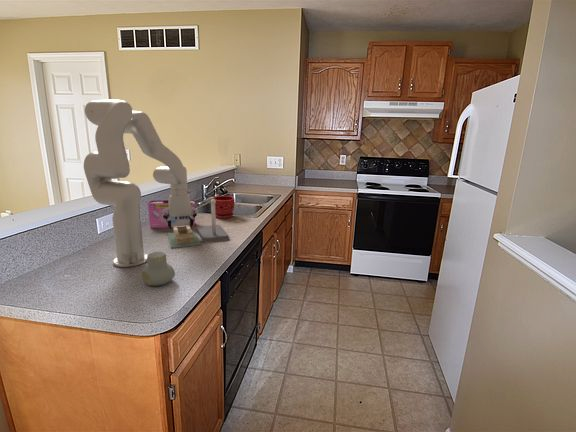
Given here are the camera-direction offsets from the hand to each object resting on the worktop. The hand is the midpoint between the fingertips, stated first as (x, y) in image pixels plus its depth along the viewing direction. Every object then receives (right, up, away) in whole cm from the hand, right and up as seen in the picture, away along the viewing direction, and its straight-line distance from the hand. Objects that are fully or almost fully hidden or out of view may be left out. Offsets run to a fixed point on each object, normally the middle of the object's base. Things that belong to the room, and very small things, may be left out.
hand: (180, 227), depth 152 cm
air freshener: (+8, -17, -45) cm, 48 cm away
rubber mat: (+2, -6, -2) cm, 6 cm away
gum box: (-11, 0, +21) cm, 23 cm away
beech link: (+2, -5, -2) cm, 5 cm away
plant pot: (+13, +5, +41) cm, 43 cm away
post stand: (+14, -4, +6) cm, 15 cm away
